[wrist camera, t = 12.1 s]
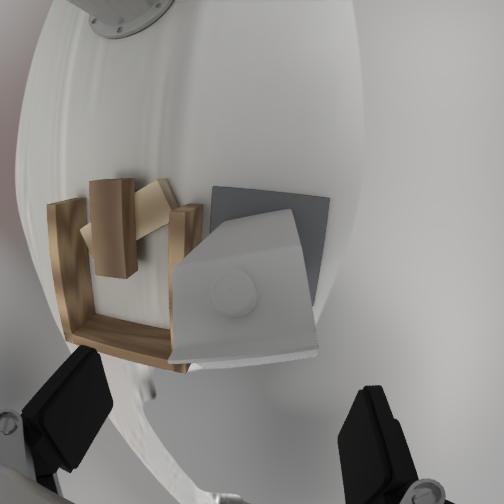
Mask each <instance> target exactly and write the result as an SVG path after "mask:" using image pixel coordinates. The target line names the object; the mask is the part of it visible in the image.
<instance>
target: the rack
mask: <svg viewBox="0 0 504 504" xmlns="http://www.w3.org/2000/svg"><path fill="white" fill-rule="evenodd" d="M202 215H203V204H187V205H184V206H182V207H179V208H177V209H174V210H172V211H169V309H170V330H167V329H162V328H157V327H152V326H147V325H142V324H137V323H133V322H128V321H124V320H120V319H115V318H111V317H107V316H103V315H99V314H95V308H94V301H93V294H92V286H91V277H90V267H89V255H88V247H87V245H86V243H85V240H84V238H83V236H82V234H81V232H80V229H81V228H83V227H84V226H85V225H87V218H86V198H74V199H69V200H65V201H60V202H56V203H51V204H47V222H48V236H49V248H50V257H51V265H52V273H53V280H54V286H55V292H56V298H57V303H58V308H59V313H60V318H61V322H62V327H63V331H64V335H65V339H66V341H68V342H70V343H73V344H76V345H79V346H80V345H86V346H89V347H92V348H95V349H96V350H97V351H98V352H101V353H104V354H107V355H111V356H114V357H118V358H121V359H125V360H129V361H132V362H136V363H140V364H144V365H148V366H152V367H157V368H161V369H165V370H170V371H175V372H179V373H184V374H186V373H187V371H188V369H189V366H190V364H191V363H183V364H169V363H168V361H167V360H168V359H169V357H170V355H171V353H172V352H173V350H174V345H173V269H174V268H175V267H176V266H177V265H178V264H179V263H180V262H181V261H182V260H183V259H184V258H185V257H186V256H187V255H188V254H189V253H190V252H191V251H192V250H193V249H194V248H195V247H197V246H198V245H199V244H200V243H201V235H202Z"/></svg>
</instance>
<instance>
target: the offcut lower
mask: <svg viewBox="0 0 504 504" xmlns="http://www.w3.org/2000/svg"><path fill="white" fill-rule="evenodd" d="M177 208H179V205H178V203H177V200H176V198H175V196H174V194H173V192H172V190H171V188H170V186H169V184H168V182H167V179H157V180H155V181H153V182H152V183H150V184H148V185H147V186H145V187H143V188H142V189H140V190H139V191H137V192H135V231H136V240H138V239H140V238H142V237H144V236H145V235H147V234H149V233H151V232H153V231H155V230H157V229H158V228H160V227H162V226H164V225H166V224H168V223H169V211H172V210H174V209H177ZM80 232H81V234H82V236H83V238H84V240H85V243H86V245H87V247H88V249H89V251H90V253H91V255H92V257H93V259H94V254H93V244H92V232H91V222H90V223H88V224H87V225H85V226H84V227H83V228H81V229H80Z"/></svg>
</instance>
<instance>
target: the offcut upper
mask: <svg viewBox="0 0 504 504" xmlns="http://www.w3.org/2000/svg"><path fill="white" fill-rule="evenodd" d="M89 192H90V217H91V232H92V244H93V254H94V263H95V271H96V275H99V276H107V277H114V278H123V279H127V278H129V277H130V276H131V275H132V274H134V273H135V272H136V271H138V262H137V248H136V231H135V178H126V179H103V180H95V181H89Z"/></svg>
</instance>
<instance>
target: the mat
mask: <svg viewBox="0 0 504 504" xmlns="http://www.w3.org/2000/svg"><path fill="white" fill-rule="evenodd" d="M329 202H330V198H324V197H316V196H308V195H300V194H291V193H282V192H273V191H263V190H252V189H241V188H229V187H215V186H213V188H212V203H211V220H210V234H211V233H212V232H213V231H214V230H215V229H216V228H217V227H218V226H219V225H220V224H222V223H223V222H224V221H227V220H232V219H237V218H242V217H247V216H252V215H257V214H263V213H268V212H273V211H278V210H284V209H291V210H292V213H293V217H294V220H295V224H296V228H297V232H298V235H299V239H300V243H301V247H302V252H303V257H304V263H305V268H306V274H307V279H308V285H309V291H310V297H311V303H312V306H313V305H314V300H315V294H316V289H317V283H318V277H319V271H320V265H321V259H322V253H323V246H324V239H325V232H326V225H327V218H328V210H329Z"/></svg>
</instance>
